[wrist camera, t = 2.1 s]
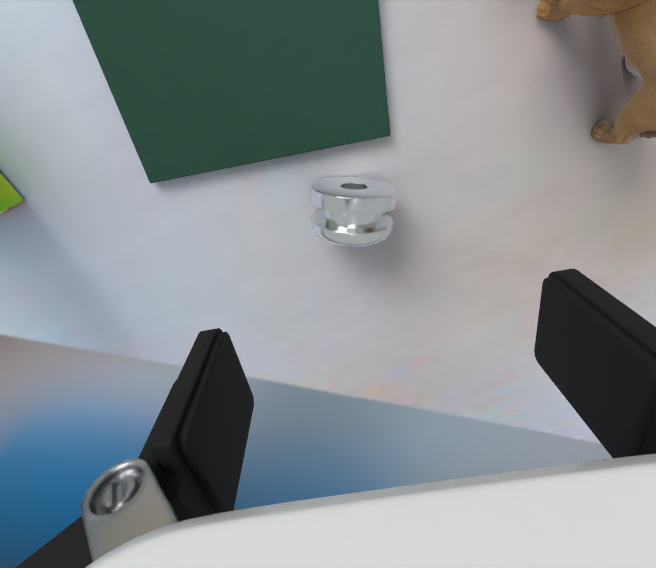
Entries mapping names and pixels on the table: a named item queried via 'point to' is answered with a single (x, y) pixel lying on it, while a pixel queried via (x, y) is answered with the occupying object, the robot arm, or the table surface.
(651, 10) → the lion figurine
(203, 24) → the desk mat
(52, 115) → the table surface
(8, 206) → the snack box
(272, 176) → the table surface
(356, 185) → the grooved metal pulley
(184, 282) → the table surface
